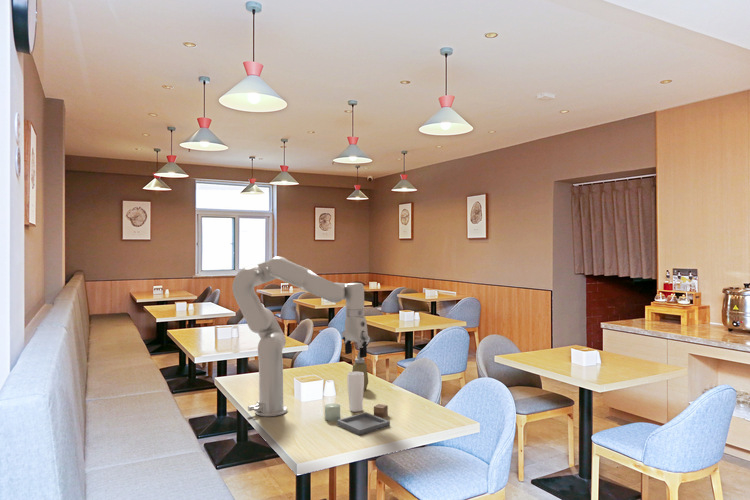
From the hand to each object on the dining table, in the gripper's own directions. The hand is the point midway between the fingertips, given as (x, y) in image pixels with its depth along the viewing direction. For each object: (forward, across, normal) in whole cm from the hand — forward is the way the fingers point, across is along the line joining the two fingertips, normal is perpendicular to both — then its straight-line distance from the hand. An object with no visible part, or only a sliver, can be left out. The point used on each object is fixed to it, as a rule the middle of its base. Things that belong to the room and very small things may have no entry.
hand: (355, 355), depth 204 cm
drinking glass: (+22, 0, 0) cm, 23 cm away
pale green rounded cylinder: (+22, -2, +13) cm, 26 cm away
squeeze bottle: (+22, +23, -20) cm, 38 cm away
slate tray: (+22, -16, +9) cm, 29 cm away
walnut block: (+22, -12, -3) cm, 26 cm away
